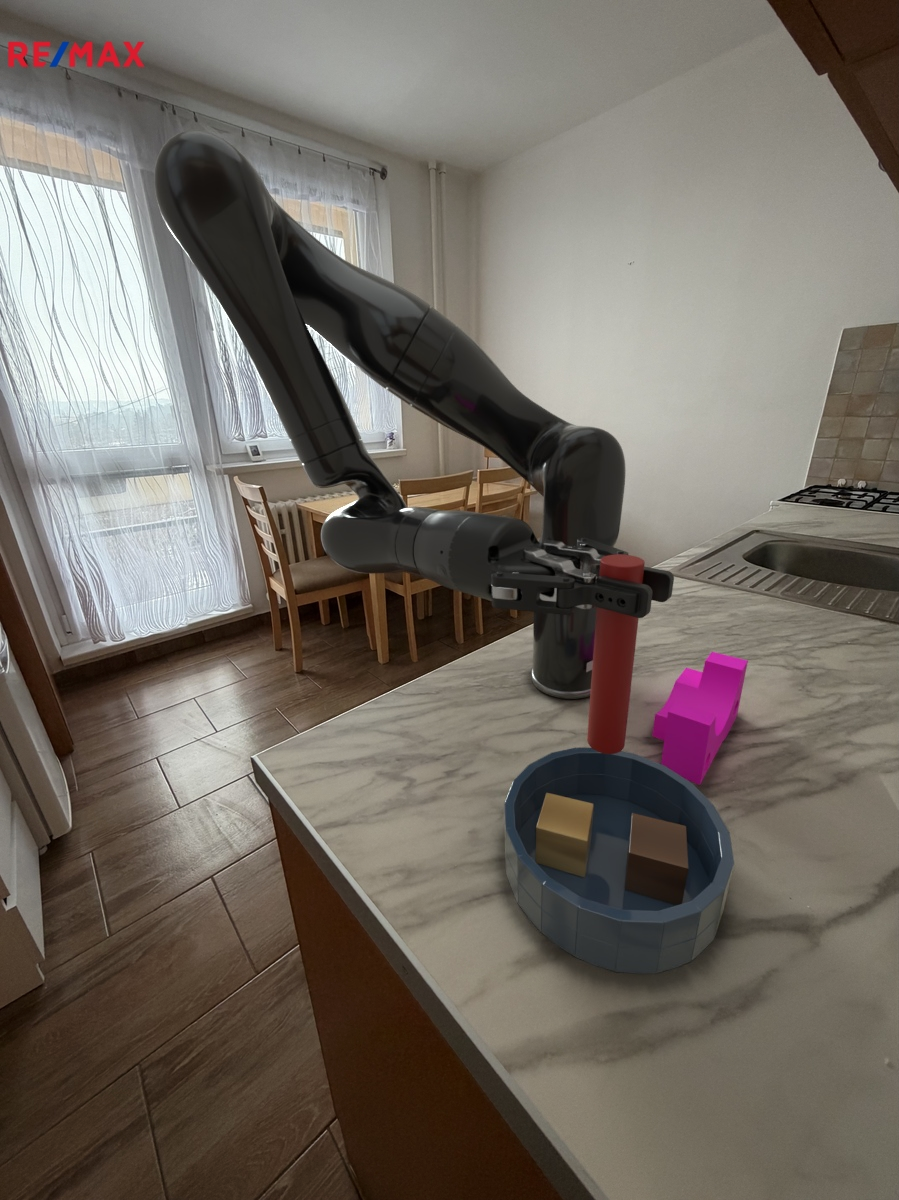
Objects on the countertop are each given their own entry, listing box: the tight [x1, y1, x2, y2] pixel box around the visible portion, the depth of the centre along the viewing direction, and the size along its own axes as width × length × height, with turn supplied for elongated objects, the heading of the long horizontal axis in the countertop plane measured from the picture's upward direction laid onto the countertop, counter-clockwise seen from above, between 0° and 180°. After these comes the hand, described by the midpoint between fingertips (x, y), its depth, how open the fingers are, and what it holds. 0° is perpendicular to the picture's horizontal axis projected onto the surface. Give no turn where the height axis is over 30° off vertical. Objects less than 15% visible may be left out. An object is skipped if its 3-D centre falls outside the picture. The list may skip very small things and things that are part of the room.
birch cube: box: [536, 793, 594, 877], centre depth 40 cm, size 4×4×4 cm
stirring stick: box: [586, 554, 646, 754], centre depth 37 cm, size 3×3×16 cm
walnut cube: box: [625, 813, 688, 905], centre depth 38 cm, size 4×4×4 cm
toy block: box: [652, 651, 749, 786], centre depth 53 cm, size 15×6×8 cm, turn 139°
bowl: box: [503, 747, 735, 975], centre depth 39 cm, size 17×17×6 cm
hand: (659, 594), depth 33 cm, fingers closed on stirring stick, 3 cm apart
